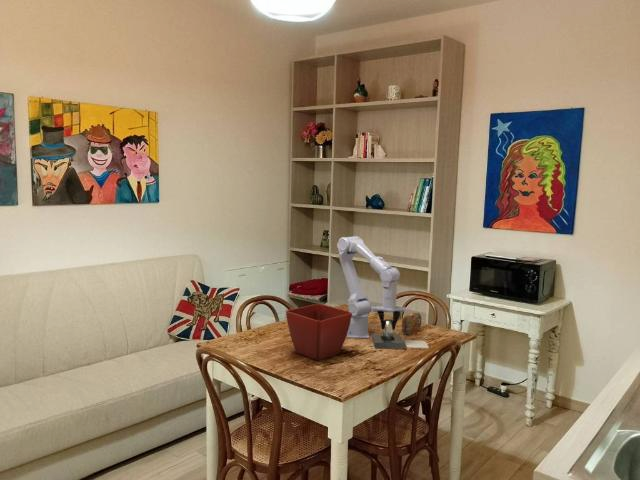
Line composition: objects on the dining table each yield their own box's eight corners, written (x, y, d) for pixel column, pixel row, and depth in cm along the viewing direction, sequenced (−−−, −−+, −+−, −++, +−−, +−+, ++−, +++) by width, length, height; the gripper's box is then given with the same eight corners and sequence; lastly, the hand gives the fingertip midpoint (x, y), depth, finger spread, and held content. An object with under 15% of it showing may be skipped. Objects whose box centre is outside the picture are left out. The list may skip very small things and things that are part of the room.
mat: (407, 348, 212) (407, 347, 212) (403, 341, 221) (403, 340, 221) (429, 348, 212) (429, 347, 212) (424, 341, 221) (424, 340, 221)
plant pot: (352, 353, 203) (353, 312, 201) (318, 365, 190) (319, 321, 188) (318, 342, 217) (319, 303, 215) (284, 352, 203) (284, 310, 201)
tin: (406, 336, 227) (407, 318, 226) (400, 335, 229) (400, 316, 228) (421, 329, 239) (422, 311, 238) (415, 327, 241) (416, 310, 240)
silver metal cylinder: (383, 340, 214) (384, 320, 213) (382, 337, 218) (383, 318, 217) (393, 340, 214) (393, 320, 213) (391, 338, 218) (392, 318, 217)
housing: (374, 348, 210) (374, 342, 210) (371, 339, 222) (372, 333, 222) (404, 349, 210) (404, 343, 210) (399, 339, 222) (399, 334, 222)
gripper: (372, 298, 210) (371, 331, 211) (408, 299, 210) (406, 332, 211) (371, 295, 217) (370, 326, 219) (405, 295, 217) (404, 327, 218)
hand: (388, 328), depth 215 cm, fingers closed on silver metal cylinder, 4 cm apart
